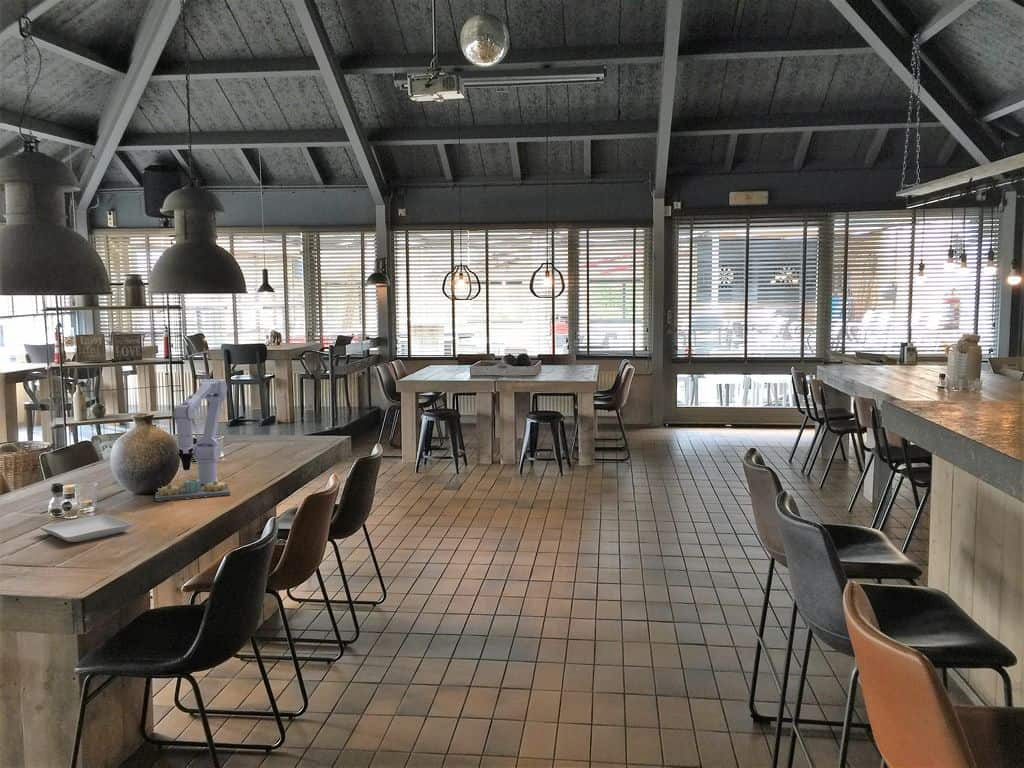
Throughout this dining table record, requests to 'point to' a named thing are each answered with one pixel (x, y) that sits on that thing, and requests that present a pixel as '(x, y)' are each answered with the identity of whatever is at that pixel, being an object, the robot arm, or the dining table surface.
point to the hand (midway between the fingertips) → (186, 468)
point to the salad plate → (87, 528)
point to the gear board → (179, 493)
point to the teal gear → (192, 486)
